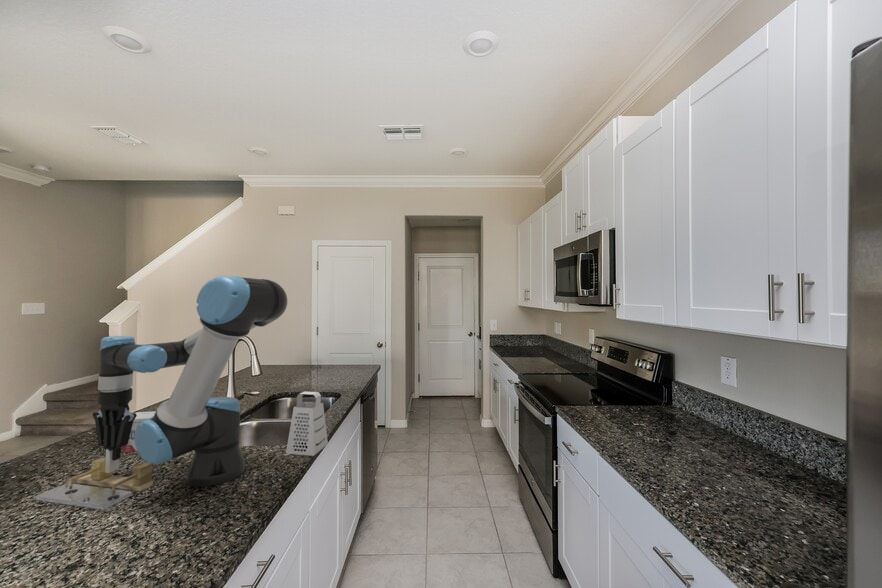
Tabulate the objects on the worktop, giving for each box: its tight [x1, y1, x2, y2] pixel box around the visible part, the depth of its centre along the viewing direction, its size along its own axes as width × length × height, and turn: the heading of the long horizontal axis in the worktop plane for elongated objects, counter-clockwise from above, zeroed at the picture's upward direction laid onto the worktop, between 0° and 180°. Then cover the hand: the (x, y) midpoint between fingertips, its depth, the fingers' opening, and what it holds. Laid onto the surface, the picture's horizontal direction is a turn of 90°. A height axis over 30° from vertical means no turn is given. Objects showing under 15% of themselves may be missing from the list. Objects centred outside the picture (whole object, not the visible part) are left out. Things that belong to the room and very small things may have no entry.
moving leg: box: [68, 456, 114, 489], centre depth 101 cm, size 3×10×5 cm, turn 169°
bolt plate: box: [35, 482, 133, 511], centre depth 96 cm, size 22×7×1 cm, turn 79°
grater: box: [285, 391, 329, 457], centre depth 130 cm, size 10×10×20 cm
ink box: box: [121, 410, 157, 454], centre depth 129 cm, size 9×9×12 cm
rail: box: [76, 461, 154, 495], centre depth 100 cm, size 22×10×6 cm, turn 79°
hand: (112, 470), depth 104 cm, fingers closed
